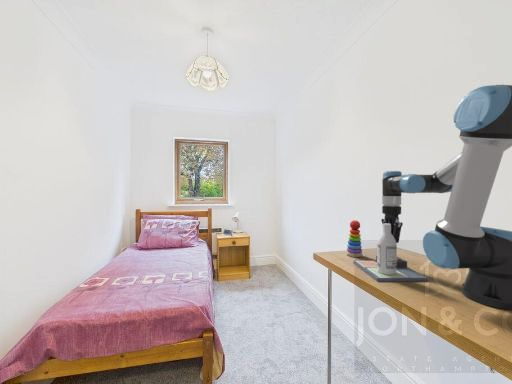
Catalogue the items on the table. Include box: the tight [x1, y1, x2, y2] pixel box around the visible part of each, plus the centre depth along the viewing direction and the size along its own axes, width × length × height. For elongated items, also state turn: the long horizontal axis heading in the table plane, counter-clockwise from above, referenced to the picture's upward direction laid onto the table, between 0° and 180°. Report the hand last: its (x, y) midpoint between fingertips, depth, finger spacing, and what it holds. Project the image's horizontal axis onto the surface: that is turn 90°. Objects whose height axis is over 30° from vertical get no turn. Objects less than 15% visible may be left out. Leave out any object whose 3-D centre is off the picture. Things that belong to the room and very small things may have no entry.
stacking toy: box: [346, 219, 363, 258], centre depth 127 cm, size 8×8×19 cm
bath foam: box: [376, 223, 398, 275], centre depth 98 cm, size 7×7×20 cm
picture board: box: [352, 255, 429, 282], centre depth 104 cm, size 22×20×4 cm
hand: (390, 256), depth 109 cm, fingers closed
